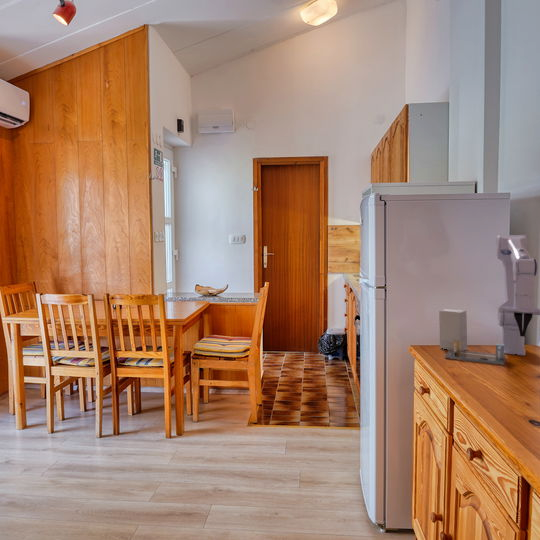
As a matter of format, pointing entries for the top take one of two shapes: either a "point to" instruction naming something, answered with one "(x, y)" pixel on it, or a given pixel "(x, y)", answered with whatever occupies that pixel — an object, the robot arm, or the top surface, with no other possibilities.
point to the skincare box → (453, 328)
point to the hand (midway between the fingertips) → (522, 335)
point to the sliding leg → (499, 350)
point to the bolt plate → (472, 355)
